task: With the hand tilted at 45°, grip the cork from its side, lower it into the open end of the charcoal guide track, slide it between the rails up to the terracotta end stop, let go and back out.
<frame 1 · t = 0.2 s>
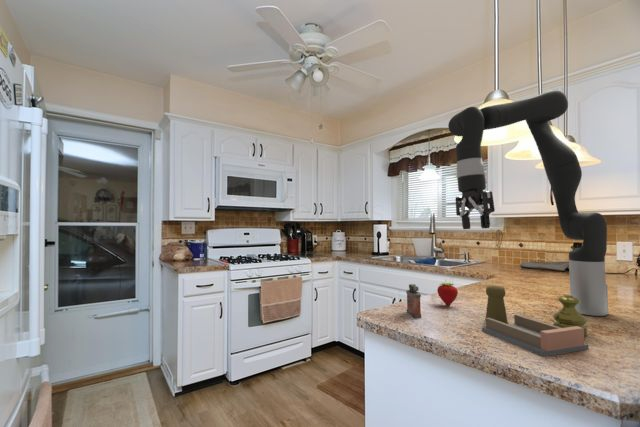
hand: (475, 228, 95), 29 cm above the counter, tool pointing down, fingers open, 8 cm apart
cork: (496, 323, 96), on the counter
guide track: (531, 339, 82), on the counter
lighter: (413, 315, 105), on the counter
strawberry: (447, 306, 116), on the counter
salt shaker: (570, 332, 87), on the counter
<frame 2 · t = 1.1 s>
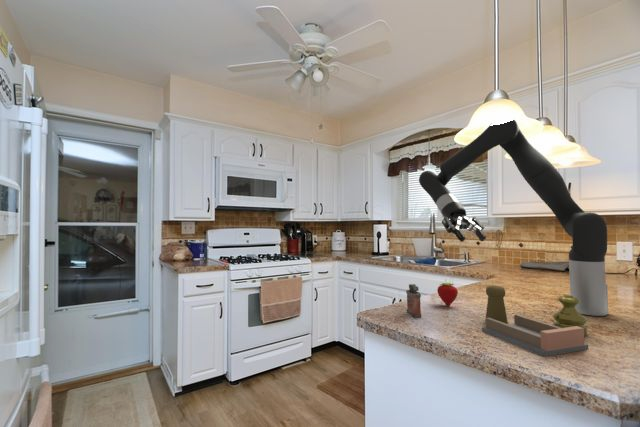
hand: (473, 239, 109), 24 cm above the counter, tool tilted 45°, fingers open, 8 cm apart
nothing on the counter moved.
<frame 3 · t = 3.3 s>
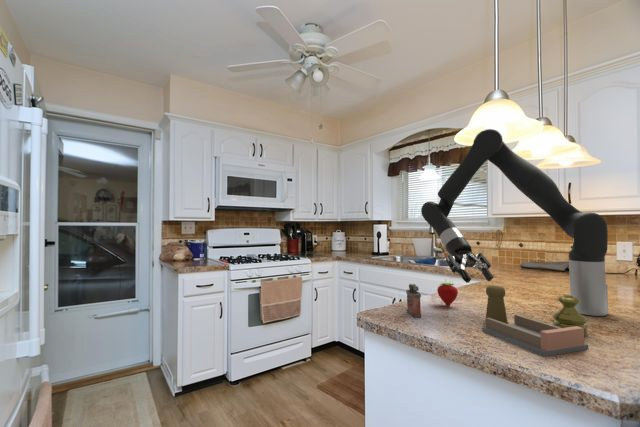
hand: (480, 280, 103), 12 cm above the counter, tool tilted 45°, fingers open, 8 cm apart
nothing on the counter moved.
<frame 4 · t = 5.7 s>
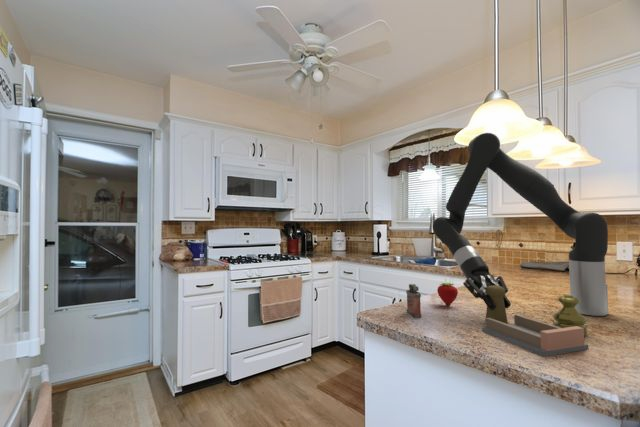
hand: (501, 307, 95), 5 cm above the counter, tool tilted 45°, fingers closed on cork, 5 cm apart
cork: (496, 323, 96), on the counter, touching gripper
everything else where it was.
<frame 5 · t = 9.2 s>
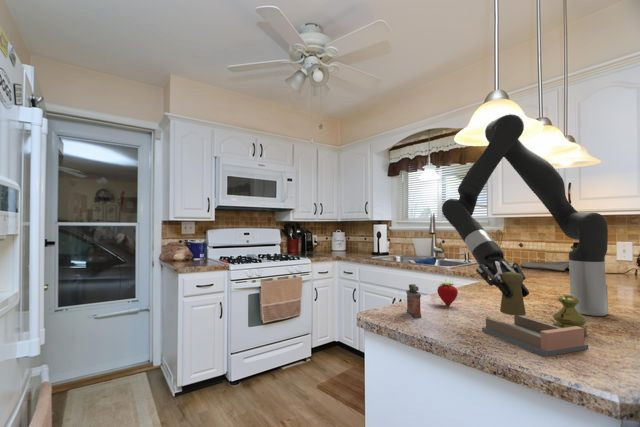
hand: (518, 295, 86), 10 cm above the counter, tool tilted 45°, fingers closed on cork, 4 cm apart
cork: (512, 313, 87), point 5 cm above the counter, touching gripper
everything else where it was.
when the fingers open (6 cm above the counter, at t = 12.9 s): cork stays where it is, resting on guide track.
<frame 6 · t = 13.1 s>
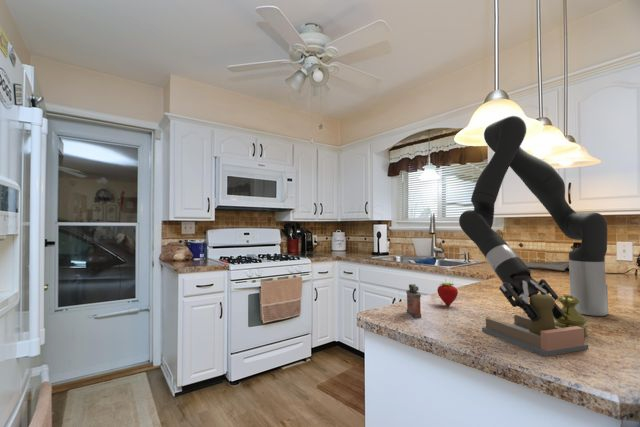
hand: (549, 318, 77), 7 cm above the counter, tool tilted 45°, fingers open, 7 cm apart
cork: (543, 340, 79), point 1 cm above the counter, touching guide track
everything else where it was.
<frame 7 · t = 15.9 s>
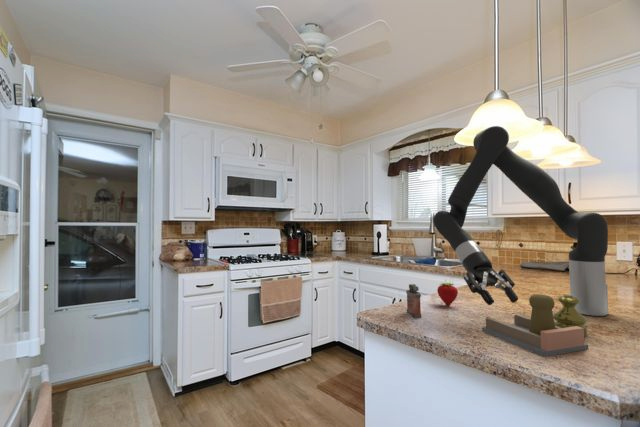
hand: (503, 302, 91), 7 cm above the counter, tool tilted 45°, fingers open, 8 cm apart
nothing on the counter moved.
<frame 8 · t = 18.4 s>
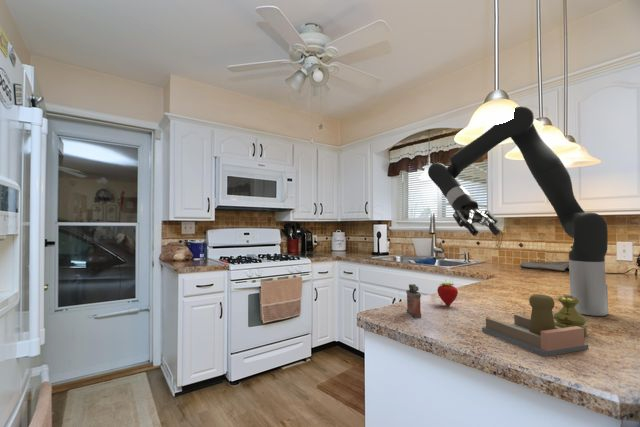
hand: (487, 233, 104), 27 cm above the counter, tool tilted 45°, fingers open, 8 cm apart
nothing on the counter moved.
at the end: cork 0.1 cm from the target spot on the guide track, point 0.8 cm above the guide track's base; cork tilted 0°; the gripper is holding nothing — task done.
